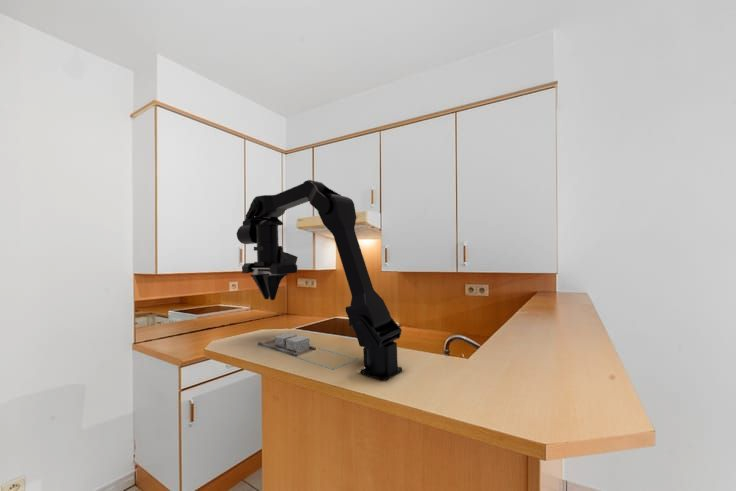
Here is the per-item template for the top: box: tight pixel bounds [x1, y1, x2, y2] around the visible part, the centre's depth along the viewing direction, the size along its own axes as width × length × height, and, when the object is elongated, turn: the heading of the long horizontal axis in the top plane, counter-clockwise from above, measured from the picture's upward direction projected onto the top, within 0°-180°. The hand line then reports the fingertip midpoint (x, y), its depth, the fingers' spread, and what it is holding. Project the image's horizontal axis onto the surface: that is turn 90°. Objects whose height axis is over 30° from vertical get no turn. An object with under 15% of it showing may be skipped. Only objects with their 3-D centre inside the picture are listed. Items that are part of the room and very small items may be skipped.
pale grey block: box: [274, 332, 298, 350], centre depth 80 cm, size 4×4×3 cm
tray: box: [295, 347, 359, 370], centre depth 71 cm, size 13×8×1 cm, turn 50°
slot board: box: [257, 339, 317, 358], centre depth 80 cm, size 17×6×2 cm, turn 50°
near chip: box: [286, 335, 310, 354], centre depth 76 cm, size 4×4×3 cm
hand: (269, 299), depth 84 cm, fingers open, 3 cm apart
